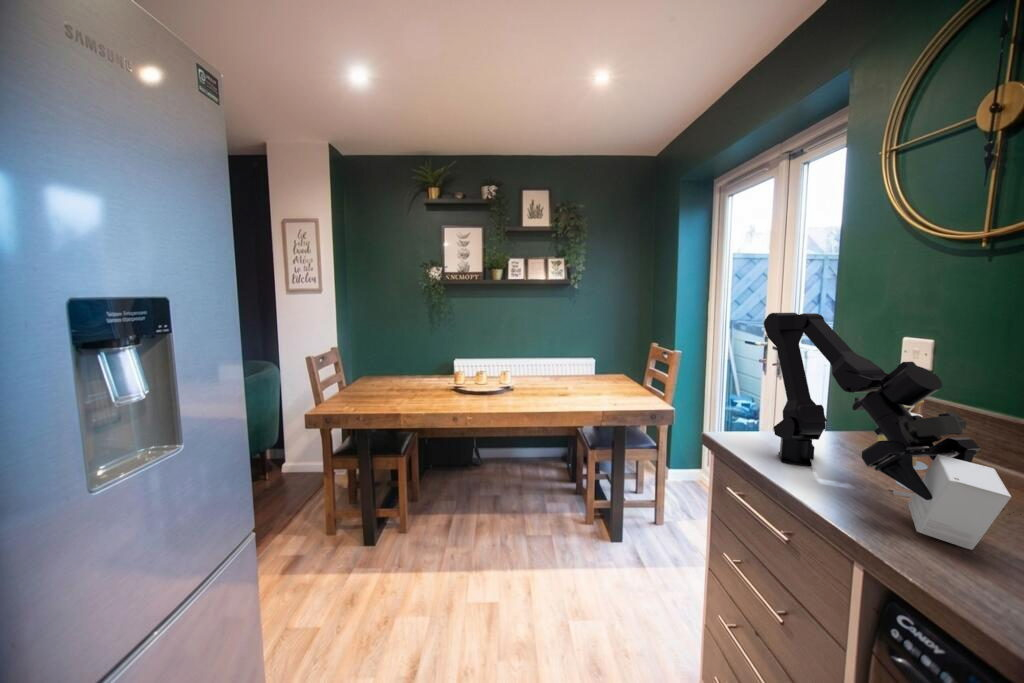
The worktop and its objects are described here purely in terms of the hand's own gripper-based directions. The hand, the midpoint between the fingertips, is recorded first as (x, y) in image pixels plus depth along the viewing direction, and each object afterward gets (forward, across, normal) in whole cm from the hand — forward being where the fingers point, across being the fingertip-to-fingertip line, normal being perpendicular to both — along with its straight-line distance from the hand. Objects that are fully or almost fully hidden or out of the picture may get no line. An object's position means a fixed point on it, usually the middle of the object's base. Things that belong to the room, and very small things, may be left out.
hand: (954, 497), depth 70 cm
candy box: (-20, +30, +30) cm, 47 cm away
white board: (-11, +18, +21) cm, 30 cm away
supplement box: (+3, 0, +6) cm, 7 cm away
